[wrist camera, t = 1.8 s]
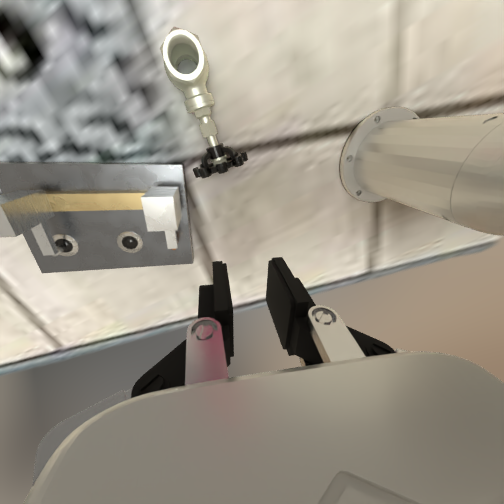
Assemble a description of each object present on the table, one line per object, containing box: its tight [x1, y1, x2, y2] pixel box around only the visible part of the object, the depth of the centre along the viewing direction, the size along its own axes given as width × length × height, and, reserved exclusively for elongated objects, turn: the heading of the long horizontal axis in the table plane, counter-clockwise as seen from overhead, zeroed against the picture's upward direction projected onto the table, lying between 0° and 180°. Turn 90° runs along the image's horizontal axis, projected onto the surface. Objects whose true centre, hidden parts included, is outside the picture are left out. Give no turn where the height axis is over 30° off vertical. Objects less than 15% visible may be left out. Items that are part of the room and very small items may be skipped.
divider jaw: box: [141, 186, 182, 250], centre depth 27 cm, size 3×8×6 cm, turn 179°
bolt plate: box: [0, 162, 193, 273], centre depth 26 cm, size 20×14×9 cm
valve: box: [160, 27, 248, 178], centre depth 24 cm, size 7×7×12 cm
